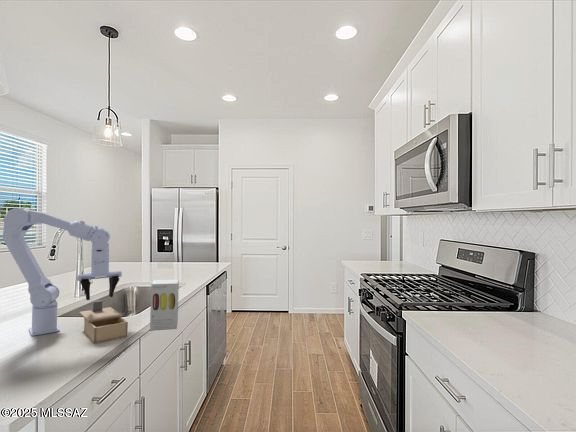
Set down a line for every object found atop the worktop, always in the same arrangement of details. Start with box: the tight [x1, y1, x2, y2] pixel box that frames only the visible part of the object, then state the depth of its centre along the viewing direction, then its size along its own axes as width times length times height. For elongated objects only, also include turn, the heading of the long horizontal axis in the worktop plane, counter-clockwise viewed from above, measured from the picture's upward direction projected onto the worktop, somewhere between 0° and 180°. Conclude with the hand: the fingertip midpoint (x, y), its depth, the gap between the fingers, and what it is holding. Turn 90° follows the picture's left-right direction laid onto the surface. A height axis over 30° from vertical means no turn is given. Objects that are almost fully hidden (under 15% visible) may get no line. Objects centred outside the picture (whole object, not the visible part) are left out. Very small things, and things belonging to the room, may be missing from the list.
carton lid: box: [78, 299, 123, 322], centre depth 120 cm, size 14×10×4 cm
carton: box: [83, 317, 129, 345], centre depth 115 cm, size 14×10×5 cm
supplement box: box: [149, 278, 180, 332], centre depth 125 cm, size 10×9×17 cm
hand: (99, 298), depth 124 cm, fingers open, 7 cm apart
